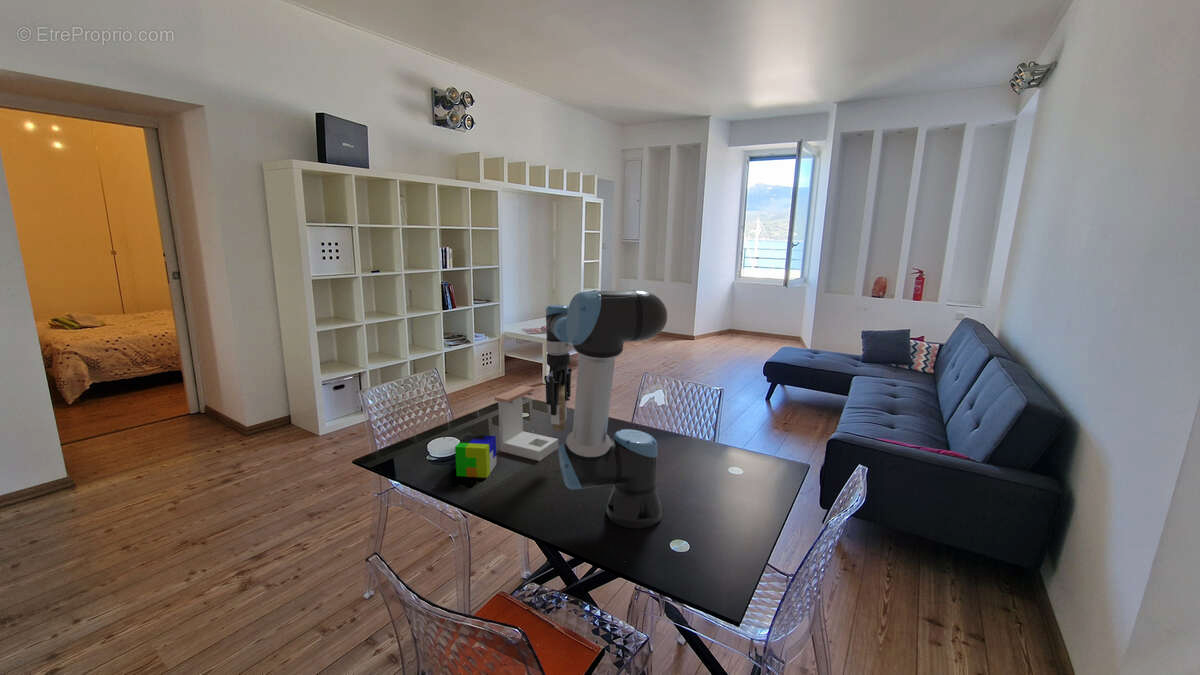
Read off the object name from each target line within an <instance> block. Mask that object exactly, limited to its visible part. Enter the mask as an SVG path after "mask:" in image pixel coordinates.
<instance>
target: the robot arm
mask: <svg viewBox="0 0 1200 675" xmlns="http://www.w3.org/2000/svg"><path fill="white" fill-rule="evenodd" d="M667 320H668V311H667V307H666V306H665V303H664V302H663V300H661V299H660V298H659V297H658V296H657V295H655V294H653V293H651V292H648V291H644V290H638V289H635V290H634V289H632V290H595V289H594V290H590V291H581V292H578V293H576V294H575V295H574V296H573V297H572V298H571V300H570V302H569V305H563V304H550V305H548V306H547V307H546V309H545V324H546V326H545V327H546V328H545V330H546V331H545V332H546V334H545V336H546V341H545V342H546V350H545V351H546V352H547V354H546V365H547V366H548V367H549V370H548V375H544V382H545V402H546V405H548V406H550V424H552V425H553V424H557V425H559V405H558V395H559V385H560V384H561V385H565V421H567V419H568V417H567V416H568V415H567V406H568V404H567V402H568V401H569V402H570V400H571V399H570V397H571V395H572V394H571V393H572V392H571V387H572V386H571V385H572V383H571V380H572V379H571V377H572V371H573V370H572V368H569V367H568V366H569V365H570V364H571V355H570V354H571V353H570V350H571V349H570V348H571V347H570V346H571V344H572V347H573V350H574V351H575V352H576V353H577V354H578V360H577V362H578V363H577V375H576V387H575V400H574V411H573V412H574V413H573V423H572V424H573V426H572V427H573V428H572V431H571V432H569V433H568V434H567V436H566V440H565V443H562V444H559V445H558V449H557V454H558V460H559V465H560V470H561V476H562V479H563V483H564V485H565V486H566V487H567V489H569V490H584V489H590V488H596V487H602V486H607V485H608V486H609V485H610V486H611V485H613V488H612V490H611V493H610V495H609V499H608V502H607V504H606V514H607V517H608V519H609V520H610V521H612V522H613V523H614V524H616V525H618V526H620V527H623V528H628V529H638V530H639V529H645V528H650V527H652V526H654V525H656V524H658V522H660V521H661V519H662V513H663V512H662V510H663V508H662V503H661V500H660V496H659V494H658V491H657V478H658V472H657V471H658V456H659V453H658V442H657V440H656V438H654V436H653V435H651V434H649V433H647V432H644V431H641V430H637V429H632V428H631V429H629V428H625V429H620V430H618V431H616V432H615V433H614V435H613V438H610V436H609V435H608V433H607V432H608V424H609V417H610V416H609V415H610V406H611V397H612V389H613V381H614V371H615V363H616V358H618V357H619V356H620V355H621V354H622V352H624V343H625V342H636V341H637V342H639V341H645V340H648V339H652V338H654V337H655V336H657V335H659V334H660V333H661V332H662V331H663V330H664V328H665V327H666V324H667Z"/></svg>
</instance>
